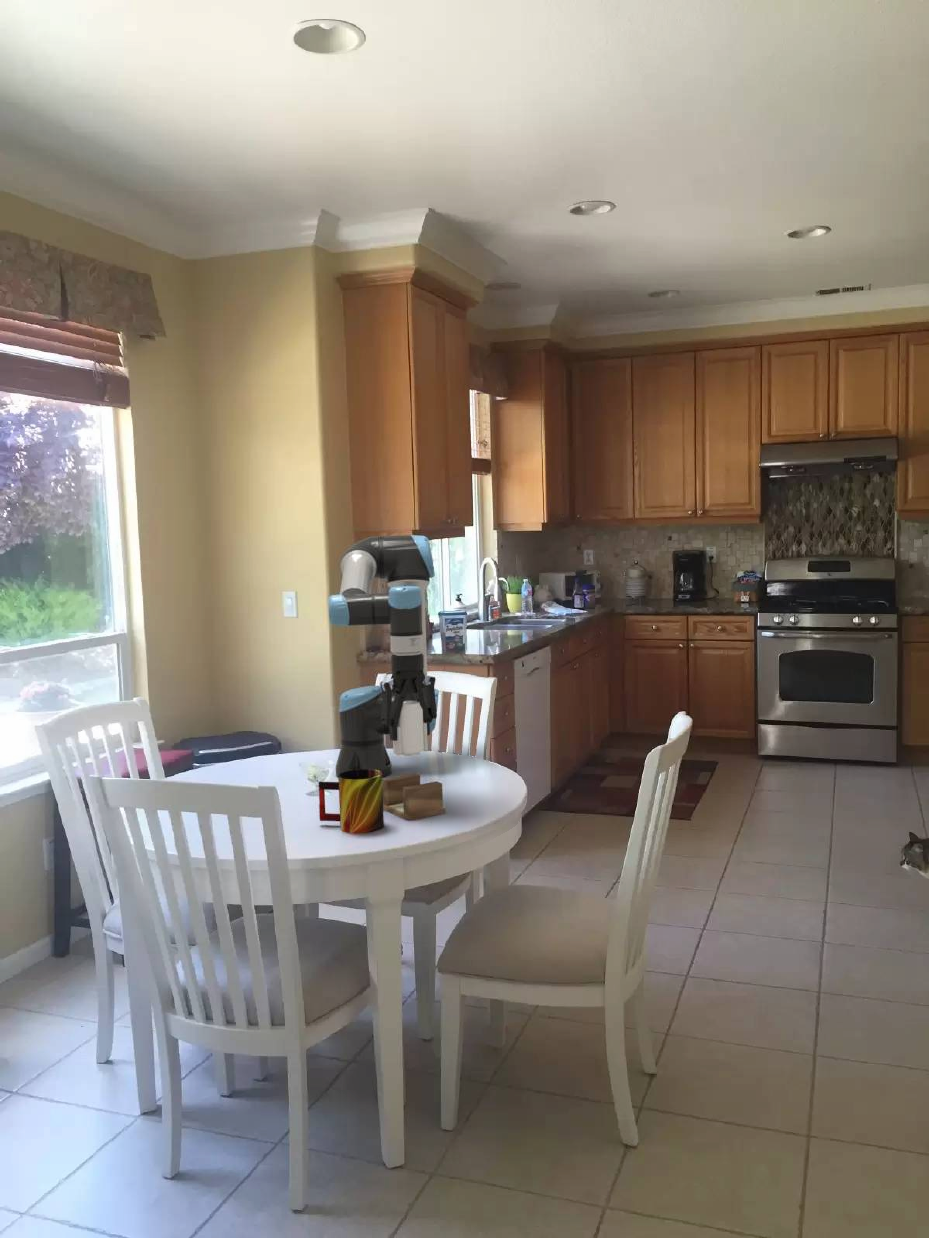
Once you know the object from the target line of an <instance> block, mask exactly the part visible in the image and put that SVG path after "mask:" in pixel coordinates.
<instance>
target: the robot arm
mask: <svg viewBox="0 0 929 1238" xmlns="http://www.w3.org/2000/svg"><path fill="white" fill-rule="evenodd" d="M340 571H341V574H342V579H341V584H340V591H339V594H332V595H330V596H329V598H328V619H329V620H328V621H329V623H330V625H332V626H334V627H357V626H358V627H359V626H382V625H387V626H388V625H389V626H390V627H389V630H390V634H389V635H390V638H389V639H390V640H389V641H390V642H389V643H390V653H392V655H390V662H391V663H390V665H391V673H392V674H391V676H390V678H389V680H386V681H380V683H379V685H367V686H366V685H365V686H361V687H357V688H352V689H348V690H347V691H344V692H343V693H342V694H341V695H340V697H339V709H338V712H339V719H340V720H339V722H340V725H339V726H340V727H339V728H340V751H339V753H338V757H337V759H336V760H337V761H336V764H335V776H336V777H337V778H338V775H339V774H340V773H342V772H345V771H349V770H357V769H372V770H378V771H381V772H382V778H384V777H387V776H388V775H391V774H392V773H393V768H392V762H391V759H390V755H389V754H388V750H387V749H386V745H385V735H389V739H390V741H392V751H393V754H394V755H397V756H403V755H402V742H401V727H399V726H398V722H399V718H400V714H401V710H402V706H403V702H404V701H417V702H420V706H421V708H422V709H423V734H424V750H423V751H422V752H427V751H428V750H429V747H428V745H429V744H428V736H430V734H431V732H433V731H435V728H436V724H437V718H438V717H437V716H438V704H439V703H438V702H439V695H440V693H439V692H440V691H439V690H438V689H437V688H435V684H436V681H437V679H436V677H435V676H430V675H428V661H427V660H428V656H427V655H428V653H427V629H426V628H427V626H426V623H427V622H426V599H425V596H426V595H425V594H426V593H425V590H426V589H427V587H429V585H430V584H431V583H430V582H431V581H430V579H431V578H434V577H435V567H434V560H433V554H432V549H431V544H430V540H429V538H428V537H426V536H425V535H413V534H410V535H409V534H408V535H407V534H406V535H388V536H387V535H386V536H385V535H384V536H383V535H382V536H379V535H377V536H370V537H367V538H364V539H362V540H359V541H357V542H356V543H354V544H353V545H351V546H350V547H349V548H348V549H347V550H346V551H345V553H344V554H343V556H342V558H341V562H340ZM377 579H378V580H379V579H380V580H384V579H385V580H386V579H387V580H386V581H387V582H386V583H387V587H388V588H390V589H389V590H388V592H385V593H372V592H371V591H372V580H377Z"/></svg>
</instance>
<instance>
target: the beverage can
mask: <svg viewBox="0 0 929 1238" xmlns="http://www.w3.org/2000/svg"><path fill="white" fill-rule="evenodd" d="M398 726H399V727H401V742H402V755H401V756H405V757H406V756H408V757H409V756H410V757H411V756H418V755H420V754H421V753H422V752H424V751H423V750H424V734H423V709H422V708H421V706H420V702H417V701H404V702H403V706H402V710H401V714H400V718H399V722H398Z"/></svg>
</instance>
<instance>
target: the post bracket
mask: <svg viewBox="0 0 929 1238" xmlns="http://www.w3.org/2000/svg"><path fill="white" fill-rule="evenodd" d="M382 789H383V811H385V812H388V813H390V814H392V815H394V816H397V817H399V818H401V819H403V820H405V821H413V820H418V819H419V820H420V819H422V818H423V819H424V818H427V817H433V816H437V815H442V814H446V808H445V807H444V800H443V799H444V797H443V783H442V782H439V781H431V782H426V783H421V774H418V773H409V774H403V775H398V776H393V777H392V776H391V777H386V778H382Z"/></svg>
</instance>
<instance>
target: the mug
mask: <svg viewBox="0 0 929 1238" xmlns="http://www.w3.org/2000/svg"><path fill="white" fill-rule="evenodd" d="M337 779H338V781H319V782H318V799H319V803H318V809H319V822H339V823H340V824H339V825H340V831H342V832H343V833H347V834H353V835H354V834H355V835H358V834H359V835H362V834H370V833H374V832H378V831H381V830H382V829H384V827H385V822H384V820H385V819H384V817H385V816H384V810H383V789H382V779H383V777H382V772H381V771H378V770H372V769H357V770H349V771H345V772H342V773H340V774H339V775H338V777H337ZM325 790H326V791H338V798H339V801H338V802H339V803H338V804H339V813H331V812H330V813H327V812H326V796H325Z"/></svg>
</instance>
